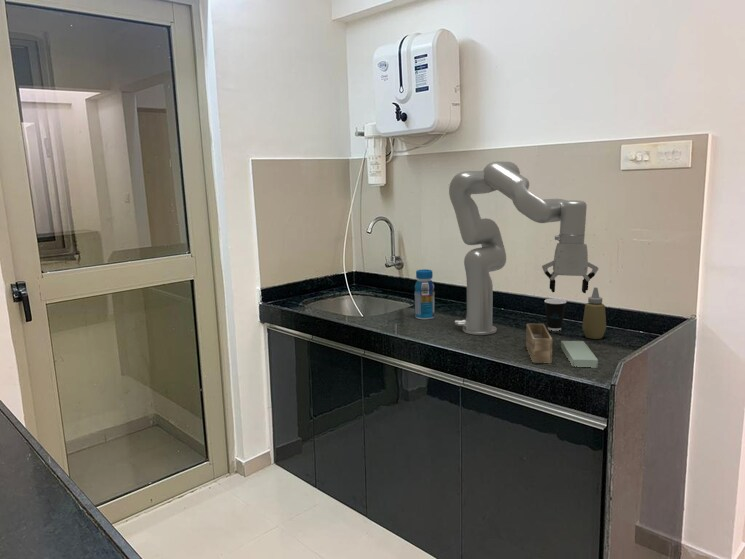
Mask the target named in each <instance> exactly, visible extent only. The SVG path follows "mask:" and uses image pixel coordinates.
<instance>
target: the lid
mask: <svg viewBox="0 0 745 559" xmlns="http://www.w3.org/2000/svg"><path fill="white" fill-rule="evenodd" d="M560 349H561V351H562V352H563V354H564V355H565V357H566V358H568V359H567V360H568V362H569V361H570V362H569V364H570V363H571V364H570V365H571V367H572V366H575V367H576V366H577V367H591V368H590V369H598V368H599V359H598V358H597V357H596V355H595V354H594V352H593V351H592V350H591V349H590V347H589V346H588V345H587V344H586V343H585V341H584V340H561V341H560Z"/></svg>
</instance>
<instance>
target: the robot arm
mask: <svg viewBox="0 0 745 559" xmlns="http://www.w3.org/2000/svg"><path fill="white" fill-rule="evenodd" d="M529 188H530V182H529V179H528V178H527V177H526V176H523V175H522V174H521V172H520V168H519V167H518V165H517V164H515V163H514V162H511V161H493V162H490V163H488V164H486V166H485V167H484V168H483V170H466V171H461V172H459V173H456V174H455V175H454V176H453V177H452V179H451V180H450V184H449V187H448V194H449V200H450V202H451V204H452V208H453V210H454V213H455V217H456V218H455V219H456V221H457V226H458V229H459V233H460V236H461V239H462V242H463V243H464V244H465V245H467V246H478V245H480V246H481V247H477V248H476V247H475V248H473V249H470V250H469V251H467V253H466V254H465V256H464V260H463V263H464V270H465V277H466V317H465V318H463V319H461V320H460V319H455V320H454V326H458V327H462V331H463V332H464V333H465V334H467V335H468V334H469V335H473V336H474V335H476V336H485V335H488V336H489V335H493V334H495V333H497V327H496V326H494V325H493V307H494V306H493V302H494V301H493V295H494V294H493V293H494V292H493V280H492V278H491V274H490V272H491V273H492V272H496V271H498V270H502V269H503V268H504V267H505V266H506V263H507V253H506V249H505V245H504V241H503V237H502V233H501V231H500V228H499V226H498V223H496V221H494V220H493V219H491V218H482V217H481V215H480V211H479V207H478V205H477V203H476V202H475V200H474V199H473V198H472V195H483V194H489V193H492V192H495V191H498V192H500V193H501V194H503V195H504V196H505V197H507V198H508V199H509V200H511V201H512V203H513V206H514V207H515V209H516V210H517V211H518V212H519V213H521V215H524V216H525V217H526V218H528V219H529V220H530V221H533V222H535V223H538V224H547V223H556V222H557V223H558V222H559V233H558V235H554V241H558V242H557V243H556V246H555V249H554V250H555V251H554V256H553V260H552V261H550V262H548V263H544V264H543V265H542V266H541V268H542V270H543V272H544V274H545V275H546V277H548V279H549V290H550V291H551V292H552V293H555V292H556V278H557V277H558V276H565V277H566V276H570V277H571V276H573V277H574V276H575V277H583V279H582V285H581V292H582V293H583V294H587V291H588V290H589V282H590V280H591V279H593V278H594V277H595V275H596V274H597V273H598V271H599V267H598V266H596V265H595V264H592V263H591V262H589V259H588V258H589V255H588V246H587V244H586V243H585V237H586V236H585V235H586V222H587V221H586V219H587V203H586V202H585V201H583V200H566V199H562V198H547V199H546V198H545V199H542V198H540V197H539V196H537V195H536V194H533V193H532V192H531V191H530V190H529ZM550 267H552V270H553V271H552V272H549V270H548V269H549V268H550ZM588 268H589V269H591V271H590V272H589V273H588Z"/></svg>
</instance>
